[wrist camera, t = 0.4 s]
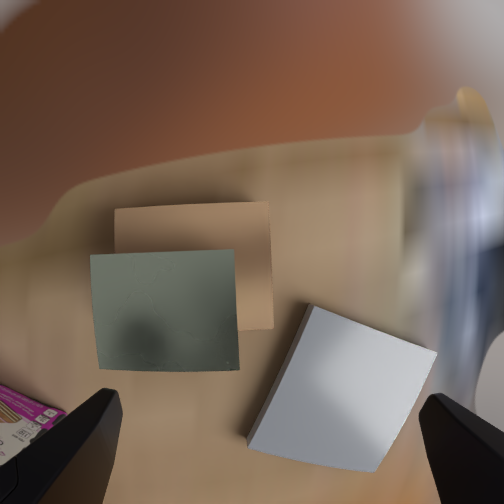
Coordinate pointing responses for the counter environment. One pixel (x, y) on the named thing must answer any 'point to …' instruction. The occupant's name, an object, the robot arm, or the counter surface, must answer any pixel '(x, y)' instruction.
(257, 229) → the tan flat block
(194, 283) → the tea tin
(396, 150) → the counter surface
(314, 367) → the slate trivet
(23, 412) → the candy bar box
